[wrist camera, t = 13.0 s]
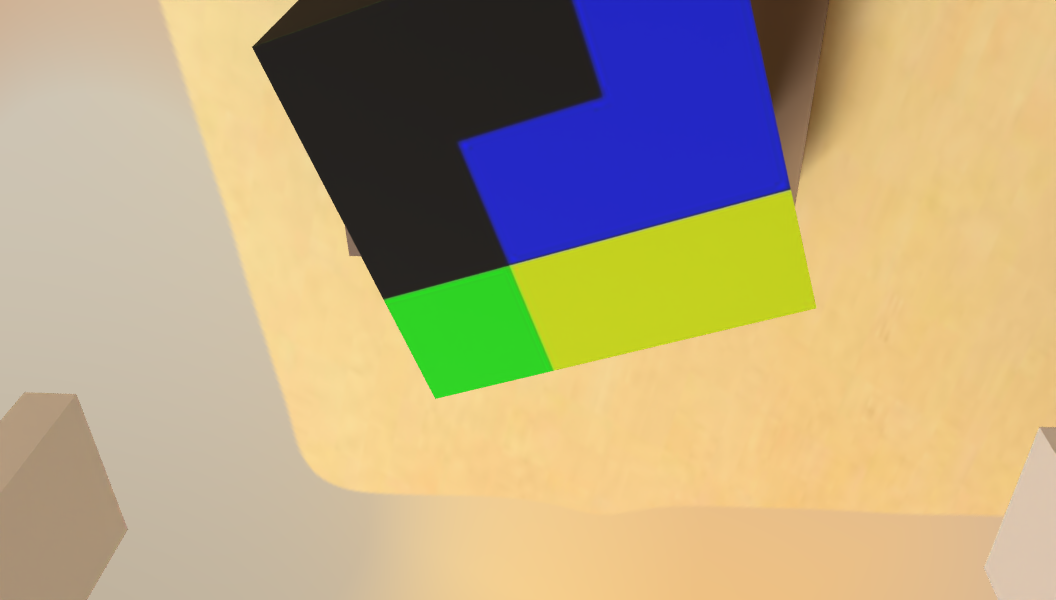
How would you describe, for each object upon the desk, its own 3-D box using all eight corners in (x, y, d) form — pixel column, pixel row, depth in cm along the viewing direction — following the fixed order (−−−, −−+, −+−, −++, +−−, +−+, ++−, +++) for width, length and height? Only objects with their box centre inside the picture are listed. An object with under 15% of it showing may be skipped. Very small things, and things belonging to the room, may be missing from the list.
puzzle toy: (681, -182, 25) (724, -122, 16) (755, 139, 30) (816, 308, 22) (357, -60, 27) (252, 47, 19) (476, 219, 32) (435, 398, 24)
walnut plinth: (838, -262, 27) (871, -257, 24) (767, 211, 36) (785, 263, 32) (313, -253, 28) (274, -247, 25) (371, 205, 37) (349, 255, 33)
